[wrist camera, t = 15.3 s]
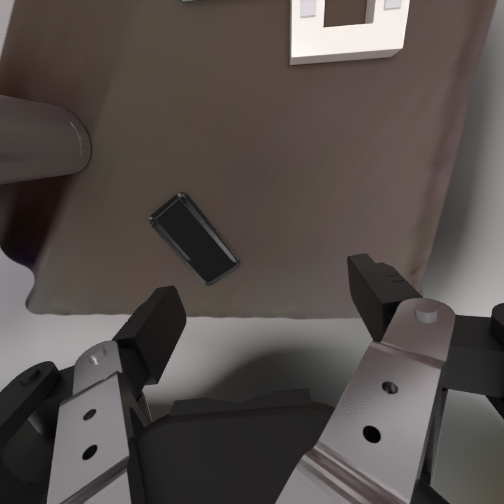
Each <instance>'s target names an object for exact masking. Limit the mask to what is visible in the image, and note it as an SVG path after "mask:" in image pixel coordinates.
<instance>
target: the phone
mask: <svg viewBox="0 0 504 504" xmlns="http://www.w3.org/2000/svg"><path fill="white" fill-rule="evenodd" d="M149 222H150V224H151V226H152V227H153V228H154V229H155V230H156V231H157V232H158V233H159V235H160V236H161V237H162V238H163V239H164V240H165V241H166V242H167V244H168V245H169V246H170V247H171V248H172V249H173V250H174V251H175V253H176V254H177V255H178V256H179V257H180V258H181V259H182V260H183V262H184V263H185V264H186V265H187V266H188V267H189V268H190V269H191V271H192V272H193V273H194V274H195V275H196V276H197V277H198V278H199V279H200V281H201V282H202V283H203V284H205V285H208V286H209V285H212V284H214V283H215V282H217V281H218V280H220V279H221V278H223V277H225V276H226V275H228V274H229V273H231V272H232V271H234V270H236V269H237V268H238V267H239V264H240V260H239V258H238V257H237V256H236V254H235V253H234V252H233V251H232V249H231V248H230V247H229V246H228V244H227V243H226V242H225V241H224V239H223V238H222V237H221V236H220V234H219V233H218V232H217V231H216V229H215V228H214V227H213V226H212V224H211V223H210V222H209V221H208V220H207V218H206V217H205V216H204V215H203V213H202V212H201V211H200V210H199V208H198V207H197V206H196V205H195V203H194V202H193V201H192V200H191V198H190V197H189V196H188V195H187V194H185V193H179V194H177V195H175V196H174V197H173V198H172V199H171V200H169V201H168V202H167V203H166V204H164V205H163V206H162V207H161V208H160V209H158V210H157V211H156V212H155V213H153V214H152V215H151V216H150V218H149Z"/></svg>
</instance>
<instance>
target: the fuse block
mask: <svg viewBox="0 0 504 504" xmlns="http://www.w3.org/2000/svg"><path fill="white" fill-rule="evenodd" d="M409 2H410V0H367V7H366V17H365V24H359V25H348V26H337V27H326V28H323V24H324V3H325V0H290V65H298V64H310V63H323V62H335V61H348V60H360V59H373V58H386V57H392V56H393V55H394V54H396V53H397V52H398V51H400V50H401V49H402V48H403V42H404V35H405V29H406V22H407V15H408V8H409Z"/></svg>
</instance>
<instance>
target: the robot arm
mask: <svg viewBox="0 0 504 504" xmlns="http://www.w3.org/2000/svg"><path fill="white" fill-rule="evenodd" d="M90 155H91V144H90V139H89V136H88V134H87V131H86V130H85V128H84V126H83V124H82V123H81V122H80V121H79V119H78V118H77V117H76V116H74V115H73V114H72V113H71V112H69V111H68V110H66V109H64V108H62V107H59V106H56V105H50V104H45V103H40V102H34V101H30V100H24V99H19V98H13V97H8V96H2V95H0V184H6V183H13V182H20V181H27V180H34V179H41V178H48V177H55V176H62V175H69V174H74V173H78V172H80V171H81V170H83V169H84V168H85V167H86V165H87V164H88V162H89V160H90ZM347 263H348V274H349V285H350V292H351V297H352V300H353V302H354V304H355V306H356V308H357V310H358V312H359V314H360V316H361V318H362V319H363V321H364V323H365V325H366V327H367V329H368V331H369V333H370V335H371V337H372V338H373V341H372V342H371V343H370V345H369V346H368V348H367V350H366V352H365V354H364V356H363V358H362V360H361V362H360V364H359V365H358V367H357V369H356V371H355V373H354V375H353V377H352V378H351V380H350V382H349V384H348V386H347V388H346V390H345V391H344V393H343V396H342V397H341V399H340V401H339V403H338V405H337V406H336V407H333V406H331V405H328V404H326V403H322V402H319V401H313V400H311V395H310V390H309V388H305V389H295V390H284V391H274V392H271V393H268V394H265V395H262V396H259V397H256V398H253V399H250V400H247V401H244V402H241V403H232V402H226V401H221V400H215V399H209V398H199V399H189V400H178V401H174V404H173V407H172V410H171V412H170V414H167V415H165V416H163V417H161V418H159V419H157V420H156V421H154V422H152V419H151V416H150V412H149V408H148V405H147V401H146V397H145V395H144V393H143V391H142V389H143V387H144V385H153V384H158V382H159V380H160V378H161V376H162V374H163V371H164V369H165V367H166V365H167V363H168V361H169V359H170V357H171V355H172V352H173V351H174V348H175V346H176V344H177V342H178V340H179V338H180V336H181V334H182V332H183V329H184V327H185V325H186V313H185V310H184V307H183V305H182V302H181V300H180V297H179V294H178V292H177V290H176V288H175V287H174V286H167V287H161V288H157V289H156V290H155V291H154V292H153V294H152V295H151V296H150V297H149V299H148V300H147V301H146V302H144V303H143V304H142V305H140V306H139V307H138V308H137V310H136V311H135V312H134V313H133V316H131V317H130V318H129V319H128V322H126V323H125V324H124V325H123V327H122V328H121V329H120V330H119V332H118V333H117V334H116V335H115V336H114V338H113V339H112V340H111V341H104V342H101V343H99V344H96V345H95V346H93V347H91V348H89V349H88V350H87V351H85V352H84V353H83V354H82V355H81V356H80V357H79V358H78V360H77V361H76V363H75V365H74V366H71V367H68V368H66V369H63V370H60V371H59V370H58V369H57V367H56V366H55V364H54V363H53V362H51V361H46V362H42V363H39V364H37V365H34V366H32V367H30V368H29V369H27V370H25V371H24V372H22V373H21V374H19V375H18V376H17V377H16V378H15V379H13V380H12V381H11V382H10V383H9V384H8V385H7V386H6V387H5V388H4V389H3V390H2V391H1V392H0V504H39V503H40V502H41V500H42V498H43V497H44V495H45V493H46V492H47V490H48V489H49V491H48V498H47V504H450V503H448V502H447V501H446V500H445V499H444V498H443V497H442V496H441V495H439V494H438V493H437V492H436V491H435V490H434V489H433V488H432V481H433V476H434V470H435V464H436V456H437V449H438V443H439V437H440V431H441V427H442V422H443V416H444V411H445V406H446V400H447V395H448V390H449V389H452V390H458V391H464V392H470V393H475V394H482V395H485V396H486V397H487V398H488V400H489V401H490V402H491V404H492V405H493V406H494V407H495V409H496V410H497V411H498V413H499V414H500V415H501V416H502V418H503V419H504V303H502V304H498V305H497V306H495V307H494V308H493V309H492V315H491V317H476V316H462V315H456V314H455V313H454V311H453V310H452V309H451V308H450V307H449V306H447V305H446V304H444V303H441V302H439V301H436V300H432V299H427V298H423V297H422V296H421V295H420V294H419V293H418V292H417V291H416V290H415V289H414V288H413V287H412V286H411V285H410V284H409V283H408V282H407V281H405V279H404V278H403V277H402V276H401V275H400V274H399V273H398V272H397V271H396V270H395V269H394V268H393V267H392V266H389V265H387V264H385V263H382V262H381V263H375V262H374V261H373V260H372V259H371V258H370V257H369V256H368V254H366V253H365V254H360V255H354V256H348V258H347ZM27 419H28V420H29V421H30V422H31V424H32V425H33V426H34V427H35V428H36V430H37V431H38V432H39V433H38V435H37V436H36V437H35V438H34V440H33V441H32V442H31V444H30V445H29V446H28V448H27V449H26V450H25V452H24V453H23V454H22V456H21V457H20V458H19V459H18V461H17V462H16V463H15V465H14V466H13V467H12V469H11V470H10V469H9V468H8V467H7V466H6V465H5V464H4V462H3V459H2V455H3V451H4V448H5V446H6V445H7V443H8V442H9V440H10V439H11V438H12V437H13V436H14V434H15V433H16V432H17V431H18V430H19V429H20V427H21V426H22V425H23V424H24V422H25V421H26V420H27Z"/></svg>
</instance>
